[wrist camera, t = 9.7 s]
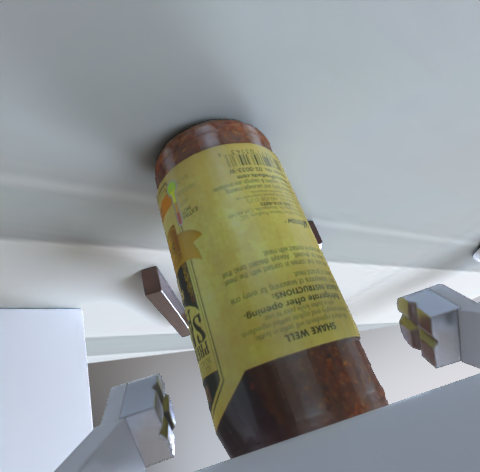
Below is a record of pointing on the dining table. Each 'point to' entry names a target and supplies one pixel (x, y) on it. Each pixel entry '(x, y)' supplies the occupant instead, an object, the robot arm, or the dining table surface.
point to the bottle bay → (167, 299)
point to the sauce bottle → (257, 292)
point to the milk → (42, 388)
